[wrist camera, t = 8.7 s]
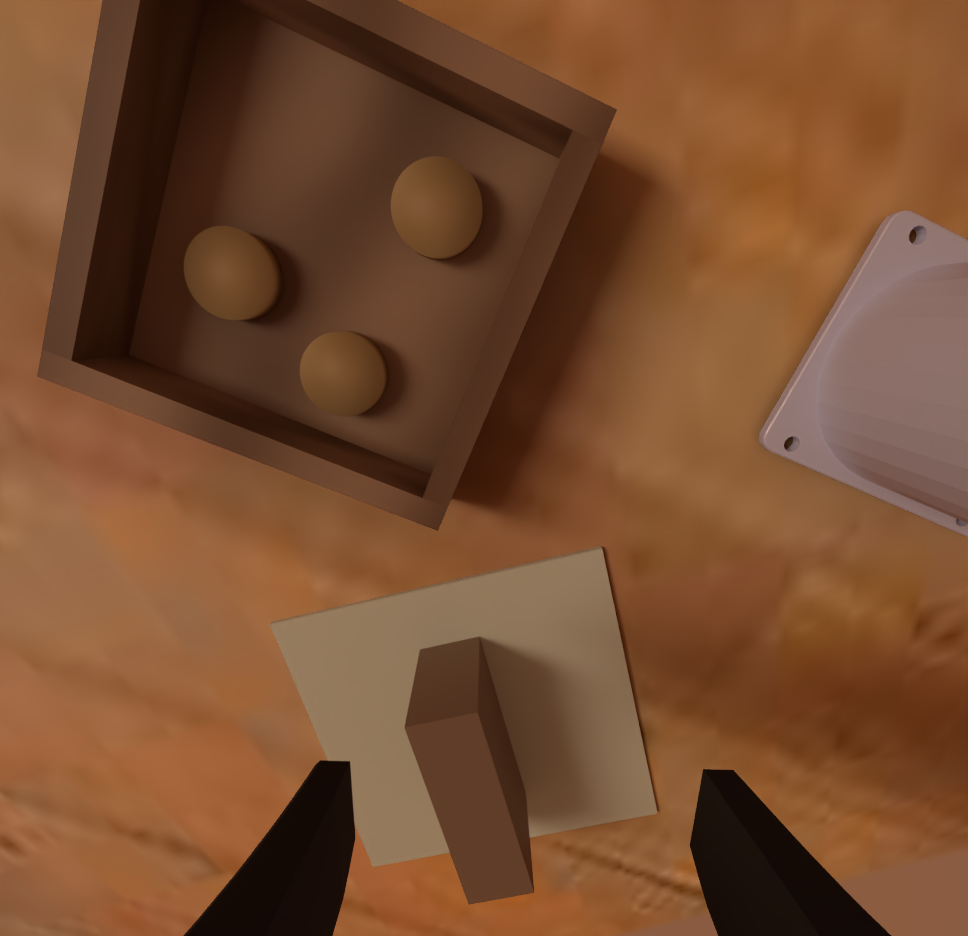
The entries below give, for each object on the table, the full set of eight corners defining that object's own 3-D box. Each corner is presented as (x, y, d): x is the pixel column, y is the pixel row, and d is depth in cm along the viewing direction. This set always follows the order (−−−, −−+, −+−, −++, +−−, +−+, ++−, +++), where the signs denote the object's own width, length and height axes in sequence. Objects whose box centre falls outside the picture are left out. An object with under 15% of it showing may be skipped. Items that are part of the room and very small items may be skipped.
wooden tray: (592, 148, 15) (616, 109, 13) (445, 497, 19) (437, 530, 16) (198, -43, 14) (125, -134, 11) (111, 366, 17) (37, 376, 14)
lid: (597, 539, 20) (631, 607, 15) (651, 797, 23) (692, 915, 19) (277, 612, 21) (218, 697, 16) (376, 849, 24) (350, 974, 20)
